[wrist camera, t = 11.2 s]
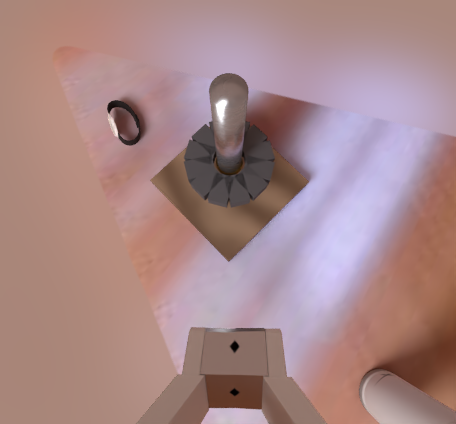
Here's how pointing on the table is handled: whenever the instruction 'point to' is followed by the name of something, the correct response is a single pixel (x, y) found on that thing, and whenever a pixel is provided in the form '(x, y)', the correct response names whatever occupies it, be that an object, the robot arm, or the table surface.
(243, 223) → the stand
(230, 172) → the metallic rounded rod
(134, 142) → the watch
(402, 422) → the travel mug
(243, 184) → the grey gear
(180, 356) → the table surface
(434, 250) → the table surface
